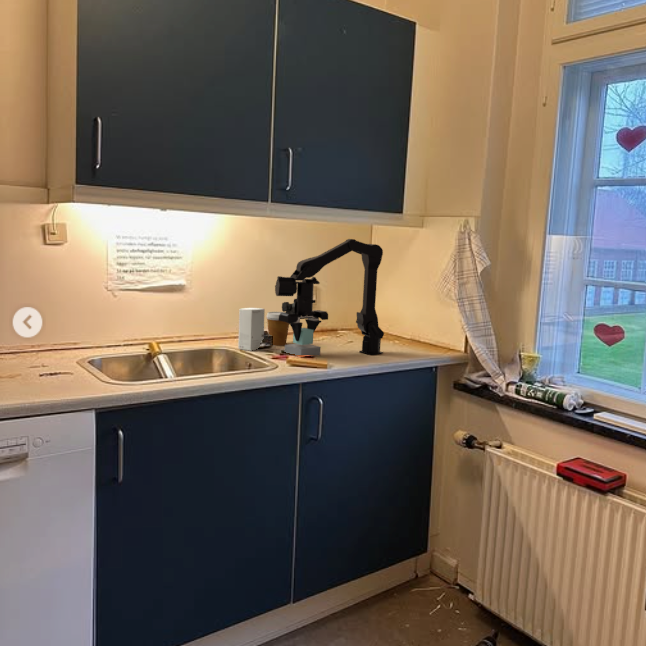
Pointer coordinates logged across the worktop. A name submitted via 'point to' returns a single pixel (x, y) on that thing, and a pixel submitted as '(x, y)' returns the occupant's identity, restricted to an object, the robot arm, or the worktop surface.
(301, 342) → the teal cube
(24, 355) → the worktop surface
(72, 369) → the worktop surface
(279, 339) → the disposable coffee cup
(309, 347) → the block
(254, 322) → the skincare box
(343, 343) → the worktop surface
